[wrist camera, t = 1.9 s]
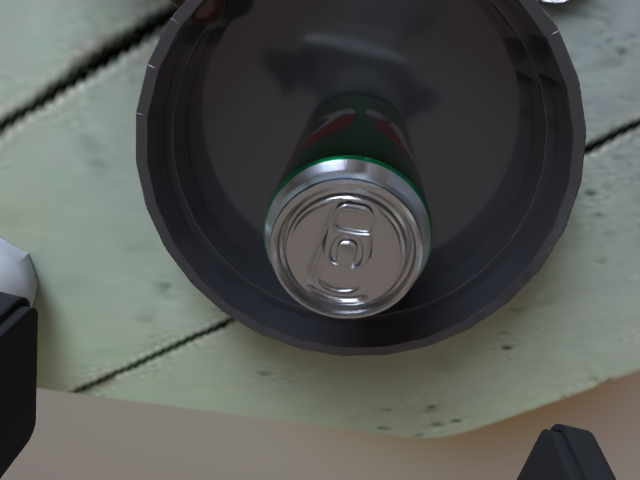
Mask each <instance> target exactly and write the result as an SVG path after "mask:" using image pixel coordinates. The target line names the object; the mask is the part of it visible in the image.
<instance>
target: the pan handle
mask: <svg viewBox="0 0 640 480" xmlns="http://www.w3.org/2000/svg"><path fill="white" fill-rule="evenodd" d="M170 1H171V2H172V3H173V4H174V5H175V6H176V7H177V8H178V9H179V8H180V6H181V5H182V4H183V3H184V2H185V1H186V0H170ZM224 9H225V0H208V1H207V2H206V3H205V4H204V5H203V6H202V7H201V9H200V10H199V11H198V12H197V14H196V15H195V17H194V18H193V21H192V22H193V23H196V24H199V25H208V24H212V23H214V22H215V21H217V20H218V19H219V18H220V17H221V16H222V14H223V12H224Z"/></svg>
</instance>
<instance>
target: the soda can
mask: <svg viewBox="0 0 640 480" xmlns="http://www.w3.org/2000/svg"><path fill="white" fill-rule="evenodd" d="M263 237H264V246H265V250H266V253H267V257H268V259H269V261H270V263H271V266H272V268H273V269H274V271H275V273H276V275H277V277H278V280H279V281H280V283H281V284H282V286H283V287H284V289H285V290H286V291H287V292H288V293H289V294H290V295H291V296H292V297H293V298H294V299H295V300H296V301H298V302H299V303H300V304H302V305H303V306H305V307H307V308H308V309H310V310H312V311H315V312H317V313H319V314H322V315H326V316H330V317H335V318H361V317H367V316H370V315H373V314H377V313H379V312H381V311H383V310H386V309H387V308H389V307H391V306H392V305H394V304H395V303H397V302H398V301H399V300H400V299H401V298H402V297H403V296H404V295H405V294H406V293H407V292H408V291H409V289H410V288H411V287H412V285H413V284H414V283H415V281H416V280H417V279H418V278H419V277H420V275H421V273H422V272H423V270H424V268H425V266H426V264H427V262H428V259H429V257H430V254H431V249H432V243H433V226H432V219H431V214H430V211H429V207H428V203H427V200H426V196H425V192H424V189H423V185H422V182H421V178H420V174H419V171H418V167H417V163H416V160H415V156H414V152H413V149H412V145H411V141H410V138H409V134H408V131H407V128H406V125H405V124H404V122H403V120H402V118H401V117H400V116H399V114H398V113H397V112H396V111H395V110H394V109H393V108H392V107H391V106H390V105H388V104H387V103H386V102H384V101H382V100H380V99H378V98H376V97H373V96H369V95H365V94H347V95H342V96H338V97H336V98H333V99H331V100H329V101H328V102H326V103H324V104H323V105H322V106H320V107H319V108H318V109H317V110H316V111H315V112H314V113H313V115H312V116H311V117H310V119H309V120H308V122H307V124H306V126H305V128H304V130H303V132H302V134H301V137H300V139H299V141H298V143H297V145H296V147H295V149H294V151H293V153H292V156H291V158H290V160H289V162H288V164H287V166H286V168H285V170H284V173H283V175H282V177H281V179H280V181H279V183H278V185H277V187H276V190H275V192H274V194H273V196H272V198H271V200H270V203H269V205H268V208H267V210H266V214H265V219H264V227H263Z"/></svg>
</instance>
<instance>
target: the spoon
mask: <svg viewBox="0 0 640 480" xmlns="http://www.w3.org/2000/svg"><path fill="white" fill-rule="evenodd" d="M537 1H539V2H540V1H541V2H542V3H543V2H544V3H550V4H551V3H552V4H554V3H562V2H565V1H567V0H537Z"/></svg>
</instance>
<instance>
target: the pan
mask: <svg viewBox="0 0 640 480" xmlns="http://www.w3.org/2000/svg"><path fill="white" fill-rule="evenodd" d="M207 1H208V0H186V1H185V2H184V3H183V4H182V5H181V6H180V8H179V9H178V10H177V11H176V12H175V13H174V14H173V16H172V18H171V19H170V21H169V23H168V25H167V27H166V29H165V31H164V33H163V35H162V36H161V38H160V40H159V42H158V44H157V46H156V48H155V50H154V52H153V54H152V56H151V58H150V60H149V62H148V65H147V69H146V73H145V77H144V82H143V86H142V90H141V94H140V99H139V103H138V107H137V113H136V163H137V168H138V172H139V177H140V181H141V186H142V190H143V195H144V199H145V204H146V206H147V209H148V212H149V214H150V216H151V218H152V220H153V222H154V225H155V227H156V229H157V231H158V233H159V235H160V238H161V240H162V242H163V244H164V246H165V247H166V250H167V251H168V252H169V254H170V255H171V256H172V258H173V259H174V260H175V262H176V263H177V264H178V266H179V267H180V268H181V270H182V271H183V272H184V274H185V275H186V276H187V278H188V279H189V280H190V282H191V283H192V284H193V285H194V286H195V287H196V288H197V289H198V290H200V291H201V292H202V293H203V294H204V295H205V296H206V297H207V298H208V299H210V300H211V301H212V302H213V303H214V304H215V305H216V306H217V307H218V308H220V309H221V310H222V311H223V312H225V313H226V314H228V315H229V316H231V317H233V318H234V319H236V320H238V321H239V322H241V323H243V324H244V325H246V326H248V327H249V328H251V329H253V330H254V331H256V332H258V333H259V334H262V335H264V336H267V337H269V338H272V339H275V340H278V341H280V342H283V343H286V344H289V345H291V346H294V347H297V348H300V349H301V348H302V349H304V350H310V351H316V352H322V353H328V354H334V355H340V356H343V355H344V356H364V355H386V354H387V355H389V354H393V353H398V352H403V351H407V350H412V349H417V348H421V347H426V346H429V345H432V344H435V343H437V342H439V341H442V340H444V339H447V338H449V337H451V336H454V335H456V334H458V333H461V332H463V331H465V330H468V329H469V328H471V327H473V326H474V325H476V324H477V323H479V322H480V321H482V320H483V319H485V318H486V317H488V316H489V315H490V314H492V313H493V312H495V311H496V310H498V309H499V308H501V307H502V306H504V305H505V304H506V303H508V302H509V301H510V300H511V299H512V298H513V297H514V296H515V295H516V294H517V293H518V292H519V291H520V290H521V289H522V288H523V287H524V285H525V284H526V283H527V282H528V281H529V280H530V279H531V278H532V277H533V276H534V275H535V274H536V273H537V272H538V271H539V269H540V268H541V267H542V265H543V263H544V262H545V260H546V259H547V257H548V255H549V254H550V252H551V251H552V249H553V247H554V246H555V244H556V243H557V241H558V239H559V238H560V236H561V235H562V233H563V231H564V229H565V227H566V225H567V222H568V219H569V216H570V213H571V210H572V207H573V204H574V202H575V199H576V196H577V193H578V190H579V187H580V184H581V183H580V182H581V179H582V169H583V160H584V150H585V140H586V126H585V119H584V112H583V104H582V97H581V90H580V83H579V80H578V79H579V78H578V76H577V73H576V71H575V69H574V66H573V64H572V61H571V59H570V56H569V54H568V51H567V49H566V47H565V44H564V42H563V39H562V37H561V34H560V32H559V30H558V28H557V27H556V25H555V24H554V23H553V21H552V20H551V19H550V17H549V16H548V15H547V13H546V12H545V11H544V9H543V8H542V7H541V5H540V4H539V3H538V1H537V0H225V9H224V12H223V14H222V16H221V17H220V18H219V19H218V20H217V21H215V22H214V23H212V24H208V25H199V24H196V23H193V22H192V21H193V18H194V17H195V15H196V14H197V12H198V11H199V10H200V9H201V7H202V6H203V5H204V4H205V3H206V2H207ZM347 94H365V95H369V96H373V97H376V98H378V99H380V100H382V101H384V102H386V103H387V104H388V105H390V106H391V107H392V108H393V109H394V110H395V111H396V112H397V113H398V114H399V116H400V117H401V118H402V120H403V122H404V124H405V125H406V128H407V131H408V134H409V138H410V141H411V145H412V149H413V152H414V156H415V160H416V163H417V167H418V171H419V174H420V178H421V182H422V185H423V189H424V192H425V196H426V200H427V203H428V207H429V211H430V214H431V219H432V226H433V243H432V249H431V254H430V257H429V259H428V262H427V264H426V266H425V268H424V270H423V272H422V273H421V275H420V277H419V278H418V279H417V280H416V281H415V283H414V284H413V285H412V287H411V288H410V289H409V291H408V292H407V293H406V294H405V295H404V296H403V297H402V298H401V299H400V300H399V301H398V302H397V303H395V304H394V305H392V306H391V307H389V308H387V309H386V310H383V311H381V312H379V313H377V314H373V315H370V316H367V317H361V318H335V317H330V316H326V315H322V314H319V313H317V312H315V311H312V310H310V309H308V308H307V307H305V306H303V305H302V304H300V303H299V302H298V301H296V300H295V299H294V298H293V297H292V296H291V295H290V294H289V293H288V292H287V291H286V290H285V289H284V287H283V286H282V284H281V283H280V281H279V280H278V277H277V275H276V273H275V271H274V269H273V268H272V266H271V263H270V261H269V259H268V257H267V253H266V250H265V246H264V237H263V227H264V219H265V214H266V210H267V208H268V205H269V203H270V200H271V198H272V196H273V194H274V192H275V190H276V187H277V185H278V183H279V181H280V179H281V177H282V175H283V173H284V170H285V168H286V166H287V164H288V162H289V160H290V158H291V156H292V153H293V151H294V149H295V147H296V145H297V143H298V141H299V139H300V137H301V134H302V132H303V130H304V128H305V126H306V124H307V122H308V120H309V119H310V117H311V116H312V115H313V113H314V112H315V111H316V110H317V109H318V108H319V107H320V106H322V105H323V104H324V103H326V102H328V101H329V100H331V99H333V98H336V97H338V96H342V95H347Z"/></svg>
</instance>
